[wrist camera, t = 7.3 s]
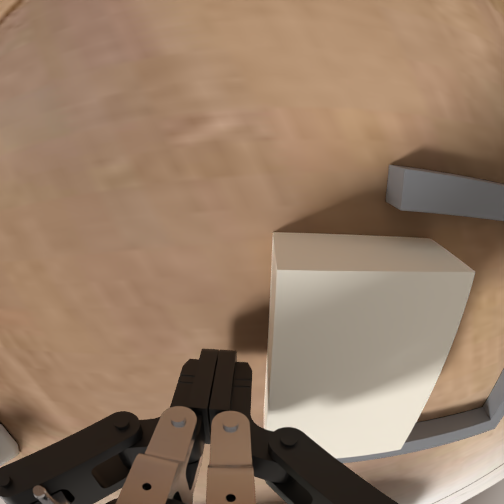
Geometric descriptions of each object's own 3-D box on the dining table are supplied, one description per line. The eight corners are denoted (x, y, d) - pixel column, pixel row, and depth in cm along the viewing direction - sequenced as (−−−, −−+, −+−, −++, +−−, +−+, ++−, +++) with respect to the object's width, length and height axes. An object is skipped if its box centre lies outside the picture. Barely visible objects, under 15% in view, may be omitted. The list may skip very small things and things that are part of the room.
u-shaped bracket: (389, 164, 11) (404, 168, 10) (568, 201, 11) (585, 207, 10) (329, 446, 17) (332, 464, 16) (487, 416, 17) (494, 428, 16)
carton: (272, 229, 13) (277, 269, 9) (427, 235, 13) (475, 271, 9) (263, 403, 16) (263, 461, 13) (381, 398, 16) (400, 449, 12)
